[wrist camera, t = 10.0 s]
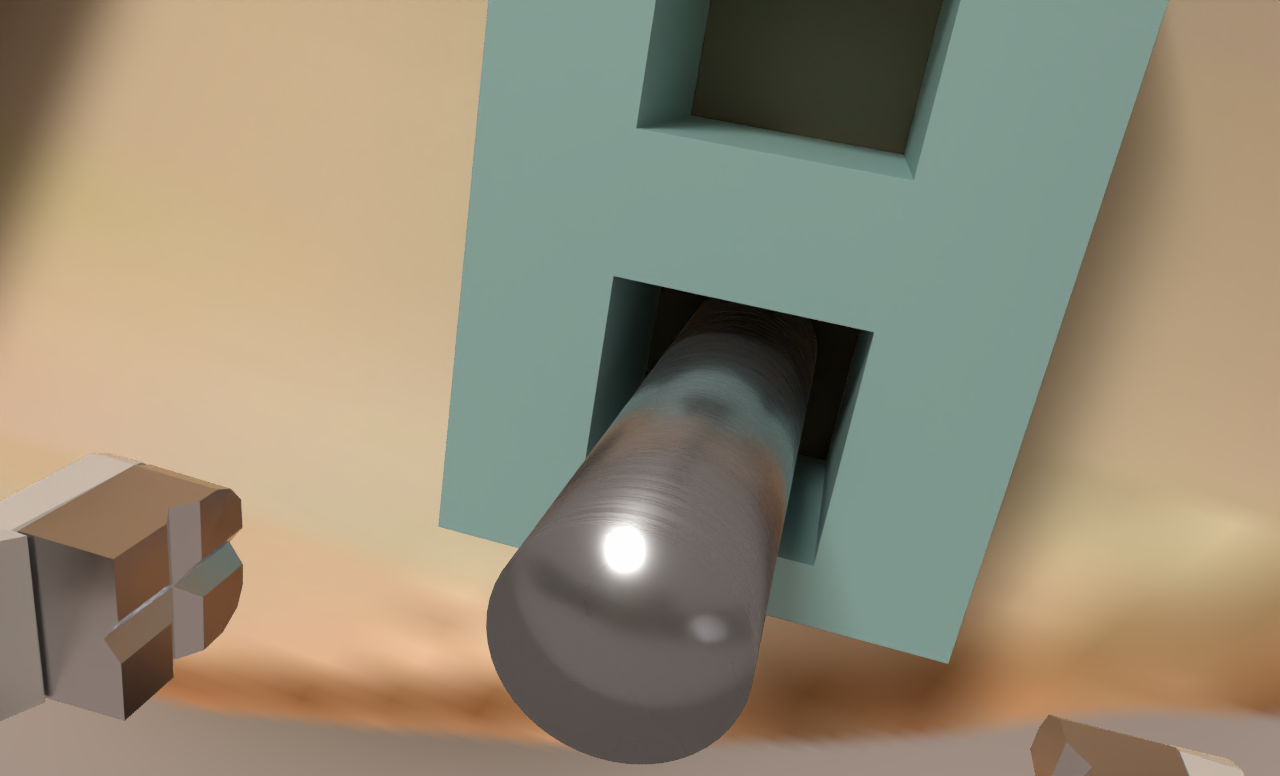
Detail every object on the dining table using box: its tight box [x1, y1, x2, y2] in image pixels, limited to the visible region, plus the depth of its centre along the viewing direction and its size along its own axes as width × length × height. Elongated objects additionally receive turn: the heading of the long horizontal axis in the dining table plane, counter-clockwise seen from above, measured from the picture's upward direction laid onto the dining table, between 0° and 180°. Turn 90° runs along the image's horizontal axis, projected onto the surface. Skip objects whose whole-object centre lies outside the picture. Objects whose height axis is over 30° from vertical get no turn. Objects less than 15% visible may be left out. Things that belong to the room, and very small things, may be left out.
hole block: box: [438, 0, 1169, 664], centre depth 18 cm, size 14×10×5 cm
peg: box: [486, 297, 817, 764], centre depth 16 cm, size 3×3×12 cm
